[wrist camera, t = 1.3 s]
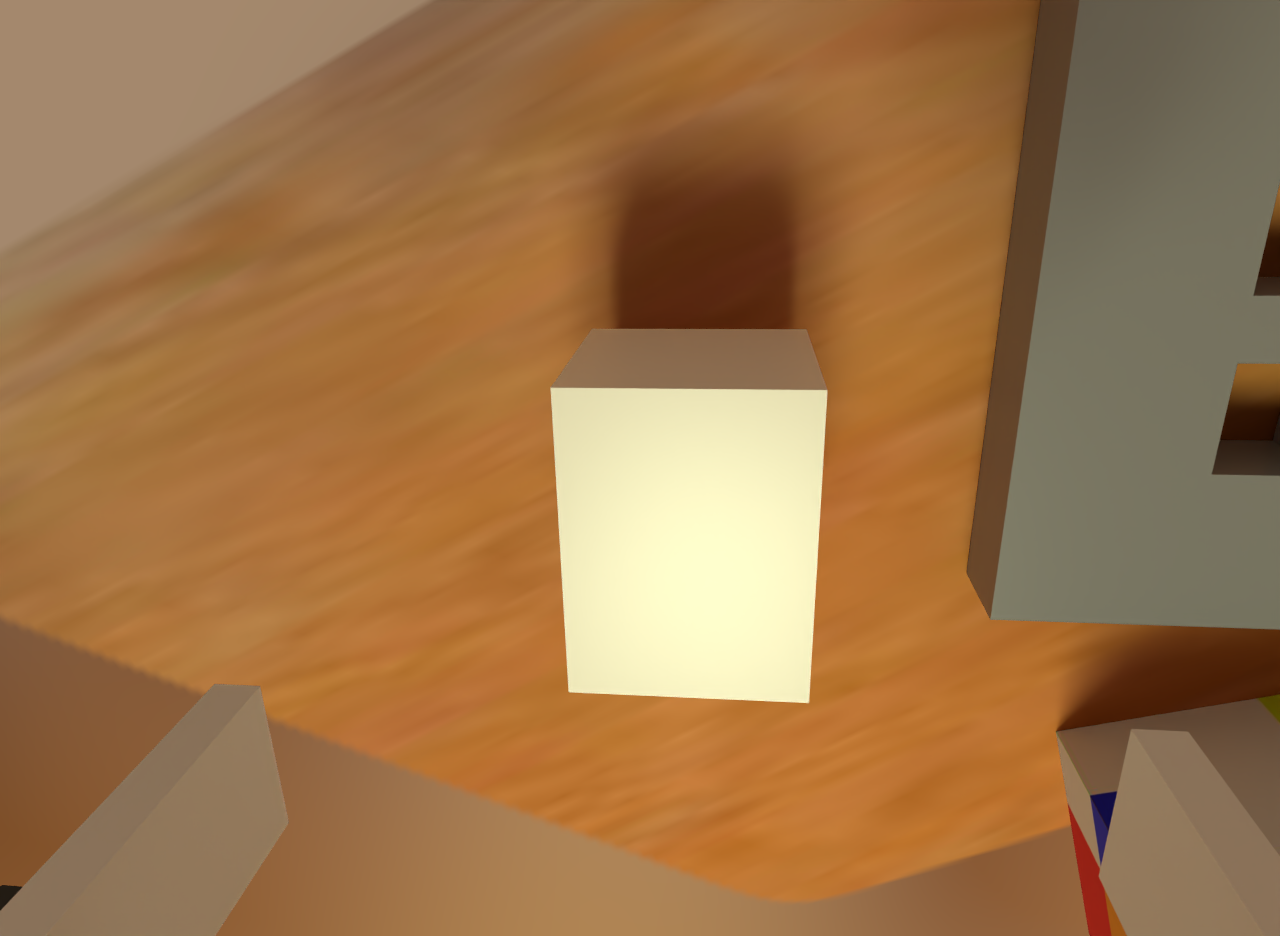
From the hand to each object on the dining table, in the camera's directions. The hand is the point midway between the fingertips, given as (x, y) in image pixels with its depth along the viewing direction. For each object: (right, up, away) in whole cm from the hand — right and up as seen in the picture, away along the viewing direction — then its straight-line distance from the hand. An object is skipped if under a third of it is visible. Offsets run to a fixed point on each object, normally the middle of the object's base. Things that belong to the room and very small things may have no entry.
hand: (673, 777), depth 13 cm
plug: (+2, +6, +15) cm, 17 cm away
